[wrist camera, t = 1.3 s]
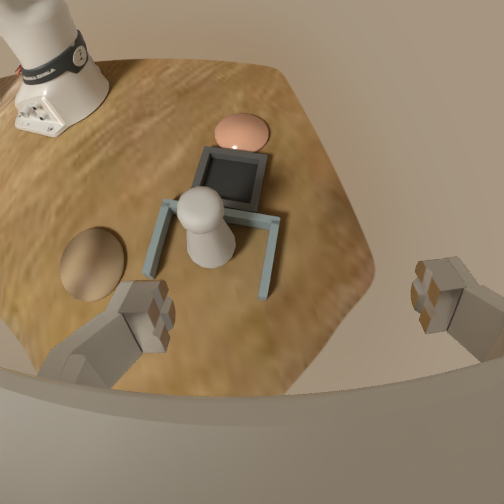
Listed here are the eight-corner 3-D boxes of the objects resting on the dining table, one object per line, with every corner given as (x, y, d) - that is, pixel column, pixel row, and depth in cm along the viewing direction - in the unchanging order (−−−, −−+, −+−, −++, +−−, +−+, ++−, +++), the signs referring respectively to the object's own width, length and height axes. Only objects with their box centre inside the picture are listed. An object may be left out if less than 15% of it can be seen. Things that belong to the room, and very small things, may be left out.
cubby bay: (265, 300, 38) (267, 297, 35) (147, 277, 38) (141, 273, 36) (278, 224, 41) (280, 217, 39) (167, 206, 41) (163, 198, 39)
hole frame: (256, 216, 41) (256, 211, 40) (189, 206, 41) (187, 201, 40) (267, 160, 44) (267, 154, 42) (205, 152, 44) (204, 146, 43)
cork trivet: (56, 293, 37) (52, 291, 37) (75, 226, 41) (72, 224, 40) (115, 309, 37) (112, 308, 36) (133, 236, 40) (131, 234, 39)
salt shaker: (200, 223, 41) (182, 168, 28) (242, 236, 40) (240, 183, 28) (183, 265, 39) (156, 222, 26) (226, 279, 38) (217, 242, 26)
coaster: (209, 151, 44) (209, 149, 44) (221, 113, 47) (221, 110, 46) (263, 159, 44) (264, 156, 43) (271, 119, 46) (272, 117, 46)
